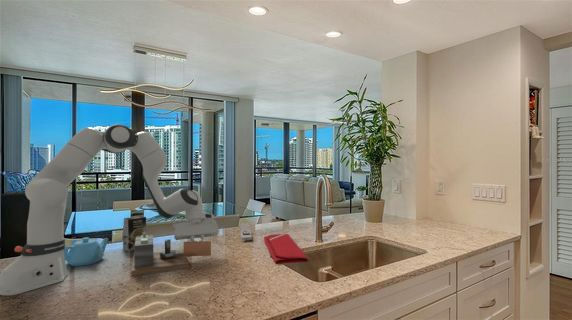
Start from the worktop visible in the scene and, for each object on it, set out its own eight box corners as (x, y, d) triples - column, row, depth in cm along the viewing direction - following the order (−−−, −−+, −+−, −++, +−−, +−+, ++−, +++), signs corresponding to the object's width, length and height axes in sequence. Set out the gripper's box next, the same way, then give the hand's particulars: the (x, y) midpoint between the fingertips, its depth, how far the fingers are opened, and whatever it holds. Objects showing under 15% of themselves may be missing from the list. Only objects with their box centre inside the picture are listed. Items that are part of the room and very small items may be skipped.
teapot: (72, 257, 139) (72, 234, 139) (108, 254, 144) (108, 232, 144) (58, 269, 125) (58, 243, 125) (99, 265, 129) (99, 240, 129)
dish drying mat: (274, 265, 132) (274, 256, 132) (263, 240, 173) (263, 234, 173) (308, 263, 136) (308, 254, 136) (289, 239, 176) (289, 233, 176)
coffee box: (128, 251, 149) (128, 219, 149) (122, 249, 153) (122, 217, 153) (146, 247, 156) (146, 216, 156) (140, 245, 160) (140, 215, 160)
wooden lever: (210, 257, 134) (210, 240, 134) (157, 259, 131) (158, 241, 131) (212, 252, 141) (212, 236, 141) (162, 254, 138) (162, 237, 138)
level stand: (189, 267, 127) (189, 235, 127) (131, 275, 118) (131, 241, 118) (183, 253, 147) (183, 225, 147) (133, 259, 138) (133, 229, 138)
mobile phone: (249, 223, 193) (252, 231, 168) (249, 232, 192) (252, 242, 168) (239, 223, 191) (241, 232, 167) (239, 232, 191) (242, 243, 167)
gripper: (173, 218, 139) (174, 244, 131) (216, 214, 148) (221, 239, 139) (172, 225, 143) (173, 251, 135) (214, 221, 152) (219, 246, 144)
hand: (198, 245), depth 137 cm, fingers closed
